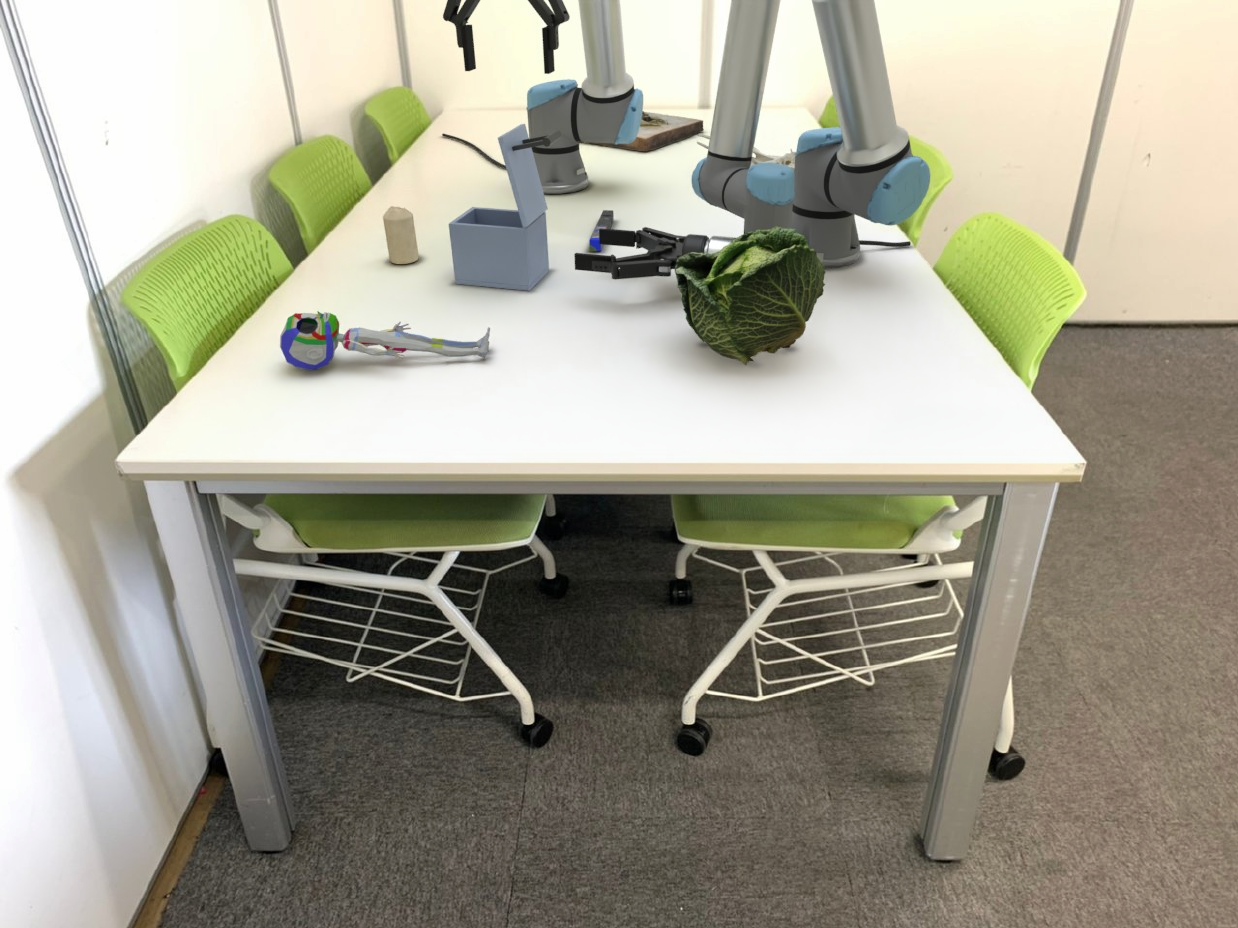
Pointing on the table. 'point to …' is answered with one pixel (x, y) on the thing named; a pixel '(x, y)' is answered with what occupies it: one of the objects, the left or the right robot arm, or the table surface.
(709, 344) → the vegetable
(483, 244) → the chest
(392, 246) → the candle
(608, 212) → the pillar
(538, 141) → the lid
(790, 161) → the anatomical model
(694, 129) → the plaque
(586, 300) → the table surface
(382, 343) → the toy
